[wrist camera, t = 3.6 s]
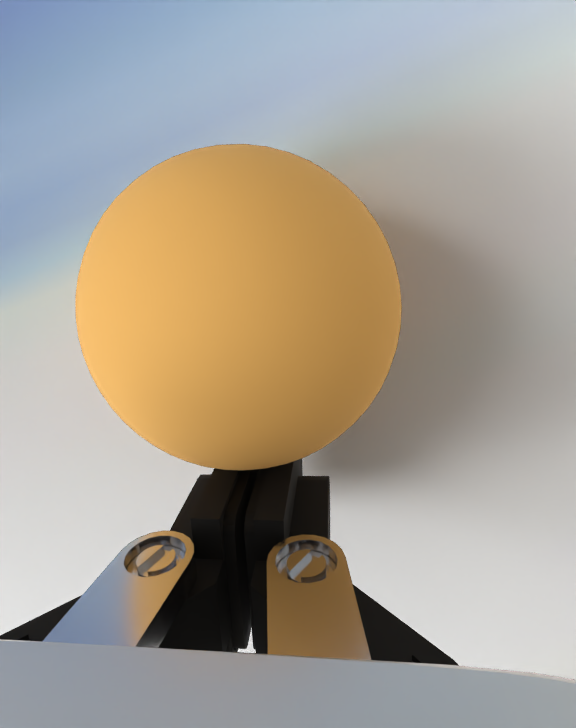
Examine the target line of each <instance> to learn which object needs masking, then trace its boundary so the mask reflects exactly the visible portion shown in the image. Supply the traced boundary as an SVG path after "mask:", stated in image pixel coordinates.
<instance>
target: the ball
mask: <svg viewBox="0 0 576 728" xmlns="http://www.w3.org/2000/svg"><path fill="white" fill-rule="evenodd" d="M401 309H402V305H401V293H400V283H399V279H398V274H397V270H396V265H395V262H394V259H393V256H392V253H391V251H390V248H389V245H388V243H387V241H386V239H385V237H384V235H383V233H382V231H381V229H380V227H379V225H378V224H377V222H376V221H375V219H374V218H373V216H372V215H371V214H370V212H369V211H368V209H367V208H366V207H365V205H364V204H363V203H362V202H361V201H360V200H359V199H358V197H357V196H356V195H355V194H354V193H353V192H352V191H351V190H350V189H349V188H348V187H347V186H346V185H344V184H343V183H342V182H341V181H339V180H338V179H337V178H336V177H334V176H333V175H332V174H331V173H329V172H328V171H326V170H324V169H323V168H321V167H319V166H317V165H316V164H314V163H312V162H311V161H309V160H306V159H304V158H301V157H299V156H297V155H294V154H292V153H289V152H286V151H282V150H278V149H274V148H271V147H266V146H258V145H249V144H230V145H215V146H210V147H204V148H199V149H194V150H191V151H188V152H185V153H182V154H179V155H176V156H173V157H171V158H169V159H167V160H165V161H164V162H162V163H160V164H158V165H156V166H154V167H152V168H151V169H150V170H148V171H147V172H145V173H144V174H143V175H141V176H140V177H138V178H137V179H136V180H134V181H133V182H132V183H131V184H130V185H129V186H128V187H127V188H126V189H125V190H124V191H123V192H122V193H120V194H119V195H118V196H117V197H116V198H115V200H114V201H113V202H112V204H111V205H110V206H109V207H108V209H107V210H106V211H105V212H104V214H103V215H102V217H101V219H100V220H99V222H98V224H97V226H96V227H95V229H94V231H93V232H92V235H91V237H90V240H89V242H88V245H87V247H86V250H85V252H84V255H83V259H82V263H81V267H80V271H79V275H78V280H77V289H76V323H77V331H78V337H79V341H80V345H81V349H82V353H83V356H84V359H85V361H86V364H87V366H88V369H89V371H90V374H91V376H92V378H93V380H94V381H95V383H96V385H97V387H98V389H99V391H100V392H101V394H102V395H103V397H104V398H105V399H106V401H107V402H108V404H109V405H110V407H111V408H112V409H113V410H114V411H115V412H116V413H117V415H118V416H119V417H120V418H121V419H122V420H123V421H124V422H125V423H126V424H127V425H128V426H129V427H130V428H131V429H133V430H134V431H135V432H136V433H137V434H138V435H139V436H141V437H142V438H144V439H145V440H147V441H148V442H149V443H151V444H152V445H154V446H155V447H157V448H159V449H161V450H163V451H164V452H166V453H168V454H170V455H172V456H175V457H177V458H180V459H182V460H184V461H187V462H190V463H194V464H197V465H201V466H204V467H210V468H216V469H223V470H254V469H264V468H269V467H274V466H279V465H284V464H287V463H290V462H293V461H296V460H299V459H302V458H304V457H306V456H308V455H310V454H312V453H314V452H316V451H318V450H320V449H322V448H323V447H325V446H326V445H328V444H329V443H331V442H332V441H334V440H335V439H337V438H338V437H339V436H340V435H341V434H343V433H344V432H345V431H346V430H347V429H348V428H349V427H351V426H352V425H353V424H354V423H355V422H356V421H357V420H358V419H359V418H360V417H361V415H362V414H363V413H364V412H365V411H366V410H367V409H368V407H369V406H370V404H371V403H372V401H373V400H374V398H375V397H376V395H377V394H378V392H379V391H380V389H381V387H382V385H383V383H384V381H385V379H386V377H387V375H388V373H389V370H390V367H391V364H392V361H393V358H394V355H395V352H396V349H397V344H398V338H399V333H400V328H401Z"/></svg>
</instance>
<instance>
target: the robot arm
mask: <svg viewBox="0 0 576 728" xmlns="http://www.w3.org/2000/svg"><path fill="white" fill-rule="evenodd" d="M251 626H252V637H253V648H254V649H256V653H240V652H237V651H238V648H240V649H246V648H247V645H248V641H249V636H250V631H251ZM0 728H576V680H574V679H568V678H562V677H556V676H550V675H544V674H538V673H531V672H520V671H510V670H499V669H489V668H478V667H467V666H459V665H458V664H457V663H456V662H455V661H454V660H453V659H452V658H450V657H449V656H448V655H446V654H445V653H444V652H442V651H441V650H440V649H438V648H437V647H436V646H434V645H433V644H432V643H430V642H429V641H428V640H426V639H425V638H424V637H422V636H421V635H420V634H418V633H417V632H416V631H414V630H413V629H412V628H410V627H409V626H408V625H406V624H405V623H404V622H402V621H401V620H400V619H398V618H397V617H396V616H394V615H393V614H392V613H390V612H389V611H388V610H386V609H385V608H384V607H382V606H381V605H380V604H378V603H377V602H376V601H374V600H373V599H372V598H370V597H369V596H368V595H366V594H365V593H364V592H362V591H361V590H360V589H358V588H357V587H356V586H354V585H353V584H352V581H351V577H350V573H349V569H348V565H347V561H346V557H345V555H344V553H343V551H342V549H341V548H340V547H339V546H338V545H337V544H336V543H335V542H333V541H331V540H330V484H329V476H302V459H299V460H296V461H293V462H290V463H287V464H284V465H279V466H274V467H269V468H264V469H254V470H223V469H216V468H215V469H214V471H213V473H212V475H200V476H199V477H198V479H197V481H196V483H195V485H194V487H193V488H192V490H191V492H190V494H189V496H188V498H187V500H186V501H185V503H184V505H183V507H182V509H181V511H180V513H179V514H178V516H177V518H176V520H175V522H174V524H173V526H172V528H171V529H170V531H159V532H153V533H149V534H147V535H144V536H141V537H139V538H137V539H135V540H134V541H132V542H130V543H129V544H128V545H127V546H126V547H125V548H123V549H122V550H121V551H120V553H119V554H118V555H117V556H116V557H115V558H114V560H113V561H112V562H111V563H110V564H109V565H108V566H107V568H106V569H105V570H104V571H103V572H102V573H101V574H100V576H99V577H98V578H97V579H96V580H95V581H94V582H93V584H92V585H91V586H90V587H89V588H88V589H87V591H86V592H85V593H84V594H83V595H81V596H79V597H77V598H75V599H73V600H71V601H69V602H67V603H65V604H63V605H61V606H59V607H57V608H55V609H53V610H51V611H49V612H47V613H45V614H43V615H41V616H39V617H37V618H35V619H33V620H31V621H29V622H27V623H25V624H23V625H21V626H19V627H17V628H15V629H13V630H11V631H9V632H7V633H5V634H3V635H1V636H0Z"/></svg>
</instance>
